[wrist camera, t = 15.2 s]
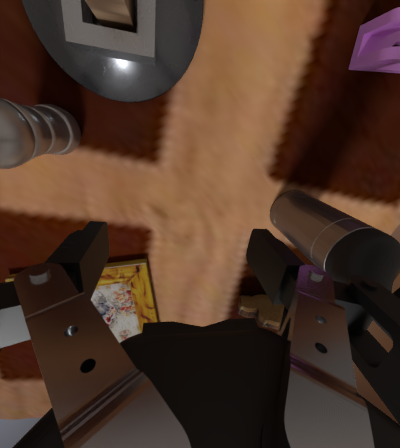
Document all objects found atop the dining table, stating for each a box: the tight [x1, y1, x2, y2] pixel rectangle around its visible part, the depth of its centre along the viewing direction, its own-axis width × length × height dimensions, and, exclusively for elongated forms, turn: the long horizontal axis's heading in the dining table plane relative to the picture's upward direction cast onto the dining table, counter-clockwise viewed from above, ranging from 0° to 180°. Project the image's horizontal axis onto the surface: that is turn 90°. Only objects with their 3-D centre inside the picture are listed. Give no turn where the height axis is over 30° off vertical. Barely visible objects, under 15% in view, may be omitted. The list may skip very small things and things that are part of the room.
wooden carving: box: [237, 294, 284, 330], centre depth 51 cm, size 16×5×10 cm, turn 82°
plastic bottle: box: [0, 97, 81, 169], centre depth 23 cm, size 6×7×20 cm
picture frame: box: [5, 259, 158, 343], centre depth 49 cm, size 27×2×30 cm
